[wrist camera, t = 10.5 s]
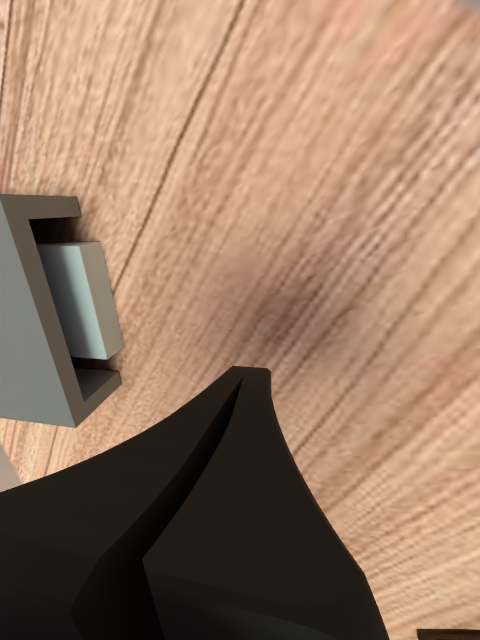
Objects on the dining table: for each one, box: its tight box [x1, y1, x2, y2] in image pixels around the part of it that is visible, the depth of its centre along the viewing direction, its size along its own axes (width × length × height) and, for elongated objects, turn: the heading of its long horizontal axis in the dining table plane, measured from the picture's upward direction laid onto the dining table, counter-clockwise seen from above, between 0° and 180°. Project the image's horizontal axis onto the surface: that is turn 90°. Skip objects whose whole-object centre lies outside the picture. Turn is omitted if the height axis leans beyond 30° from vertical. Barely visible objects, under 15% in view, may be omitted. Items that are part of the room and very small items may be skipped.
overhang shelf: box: [0, 194, 121, 428], centre depth 20 cm, size 14×10×5 cm, turn 3°
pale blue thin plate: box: [36, 242, 124, 359], centre depth 21 cm, size 8×9×2 cm
